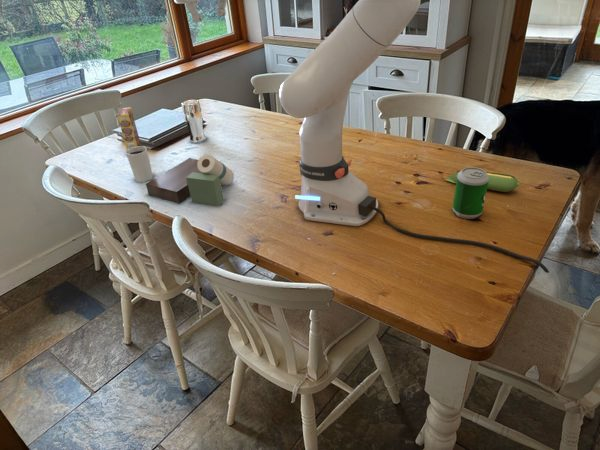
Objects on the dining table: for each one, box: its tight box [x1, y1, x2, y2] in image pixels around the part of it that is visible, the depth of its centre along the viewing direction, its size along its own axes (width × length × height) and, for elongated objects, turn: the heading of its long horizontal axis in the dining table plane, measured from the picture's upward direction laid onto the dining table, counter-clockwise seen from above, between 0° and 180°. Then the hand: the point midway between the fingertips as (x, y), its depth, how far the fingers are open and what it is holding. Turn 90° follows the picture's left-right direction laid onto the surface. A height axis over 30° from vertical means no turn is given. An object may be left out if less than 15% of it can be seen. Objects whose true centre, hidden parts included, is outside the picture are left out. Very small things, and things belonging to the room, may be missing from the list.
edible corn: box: [444, 170, 520, 193], centre depth 125 cm, size 5×20×5 cm, turn 62°
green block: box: [186, 172, 225, 207], centre depth 127 cm, size 4×9×8 cm, turn 70°
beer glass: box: [181, 99, 207, 144], centre depth 167 cm, size 7×7×15 cm
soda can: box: [451, 166, 489, 220], centre depth 111 cm, size 8×8×12 cm
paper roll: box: [197, 153, 235, 186], centre depth 131 cm, size 13×6×13 cm, turn 160°
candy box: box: [117, 106, 142, 150], centre depth 162 cm, size 9×4×15 cm, turn 13°
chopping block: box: [145, 157, 204, 204], centre depth 138 cm, size 13×20×4 cm, turn 150°
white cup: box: [125, 146, 154, 183], centre depth 143 cm, size 7×7×10 cm
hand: (210, 18), depth 111 cm, fingers open, 8 cm apart
